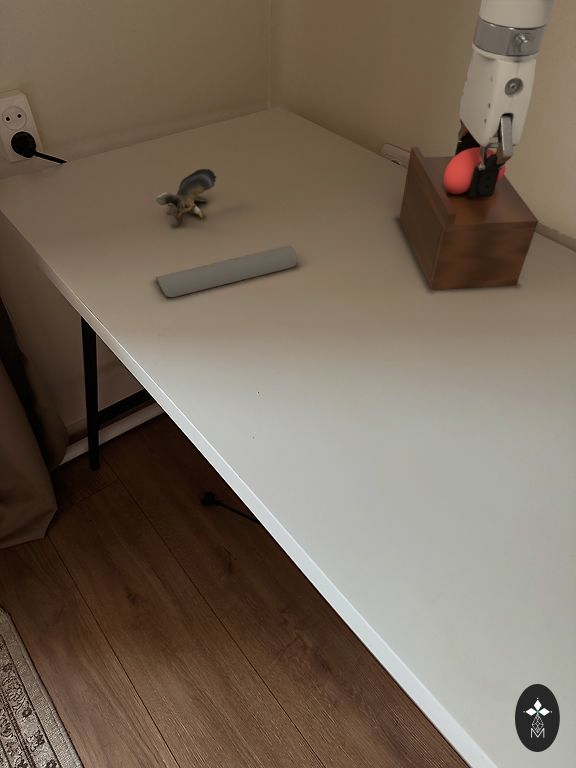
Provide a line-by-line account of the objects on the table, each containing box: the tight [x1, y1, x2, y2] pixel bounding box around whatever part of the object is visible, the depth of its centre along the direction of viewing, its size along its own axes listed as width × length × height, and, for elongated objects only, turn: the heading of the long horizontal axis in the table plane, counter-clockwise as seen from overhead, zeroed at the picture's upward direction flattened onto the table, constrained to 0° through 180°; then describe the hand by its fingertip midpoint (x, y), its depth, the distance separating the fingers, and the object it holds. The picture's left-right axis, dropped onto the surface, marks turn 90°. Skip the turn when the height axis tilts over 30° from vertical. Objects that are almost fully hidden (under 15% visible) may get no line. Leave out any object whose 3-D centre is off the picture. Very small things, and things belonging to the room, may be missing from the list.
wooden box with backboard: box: [398, 146, 539, 291], centre depth 88 cm, size 12×18×12 cm, turn 7°
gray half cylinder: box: [155, 245, 298, 298], centre depth 86 cm, size 4×20×2 cm, turn 115°
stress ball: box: [444, 147, 507, 194], centre depth 84 cm, size 5×9×6 cm, turn 110°
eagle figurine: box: [155, 168, 217, 228], centre depth 96 cm, size 8×7×9 cm
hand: (471, 181), depth 85 cm, fingers closed on stress ball, 6 cm apart
